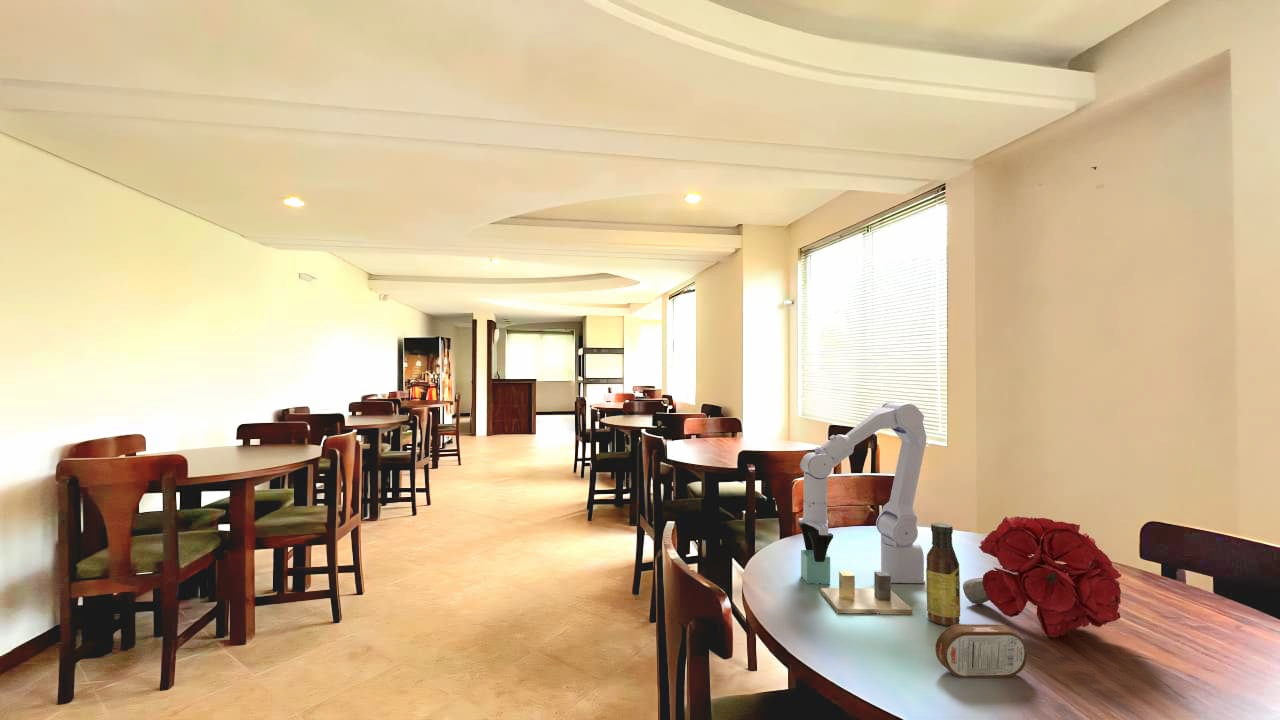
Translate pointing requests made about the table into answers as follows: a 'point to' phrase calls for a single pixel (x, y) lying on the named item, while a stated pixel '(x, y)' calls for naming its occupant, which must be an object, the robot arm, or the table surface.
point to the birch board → (869, 598)
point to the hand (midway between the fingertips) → (815, 556)
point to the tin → (981, 651)
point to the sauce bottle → (942, 577)
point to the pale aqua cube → (814, 568)
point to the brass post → (846, 586)
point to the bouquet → (1048, 575)
